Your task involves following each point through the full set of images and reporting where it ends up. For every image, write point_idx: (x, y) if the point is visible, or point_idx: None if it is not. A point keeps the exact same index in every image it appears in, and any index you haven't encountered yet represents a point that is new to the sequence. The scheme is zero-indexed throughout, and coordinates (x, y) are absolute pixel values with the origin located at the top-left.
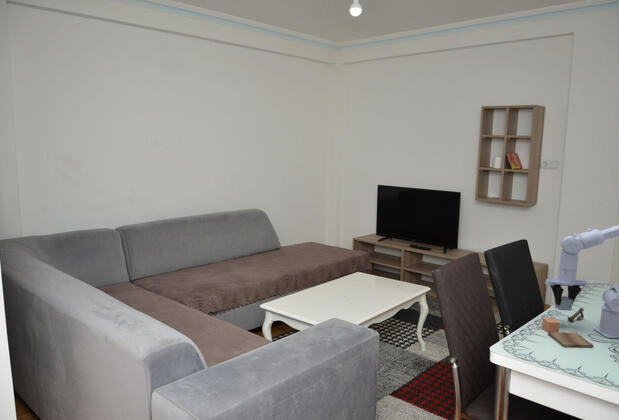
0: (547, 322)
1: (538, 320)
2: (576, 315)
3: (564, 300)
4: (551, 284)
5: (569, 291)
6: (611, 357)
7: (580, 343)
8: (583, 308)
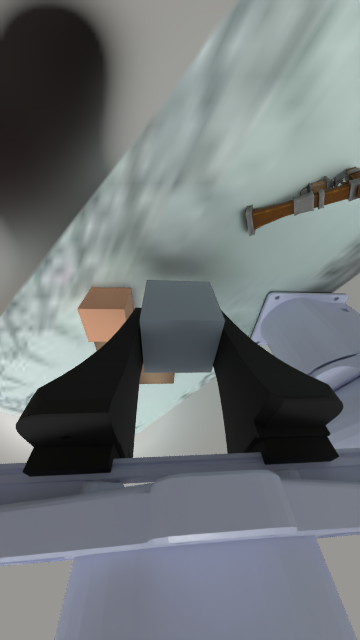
0: (87, 332)
1: (102, 203)
2: (294, 214)
3: (160, 369)
4: (5, 485)
5: (237, 375)
6: (181, 399)
7: (148, 379)
8: None
